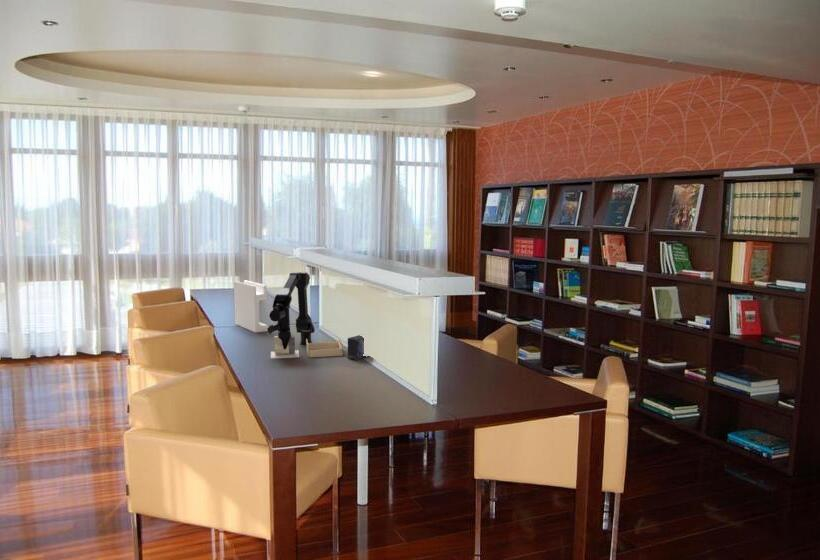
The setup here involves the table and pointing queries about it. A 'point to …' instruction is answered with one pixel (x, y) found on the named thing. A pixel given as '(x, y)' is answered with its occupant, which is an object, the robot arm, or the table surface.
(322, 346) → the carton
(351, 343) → the small box
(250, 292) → the block
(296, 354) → the white square tile
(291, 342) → the block
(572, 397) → the table surface
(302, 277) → the robot arm
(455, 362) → the table surface
